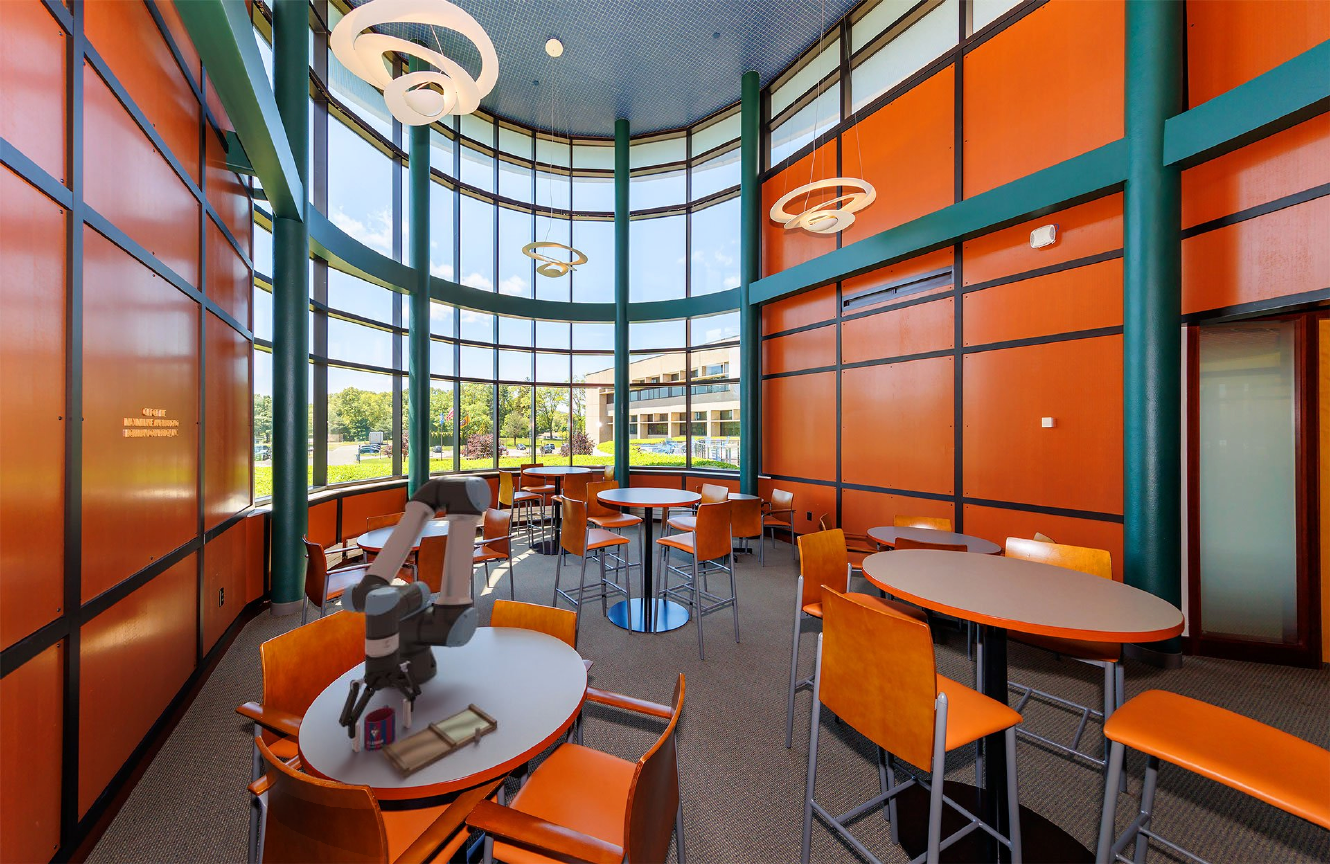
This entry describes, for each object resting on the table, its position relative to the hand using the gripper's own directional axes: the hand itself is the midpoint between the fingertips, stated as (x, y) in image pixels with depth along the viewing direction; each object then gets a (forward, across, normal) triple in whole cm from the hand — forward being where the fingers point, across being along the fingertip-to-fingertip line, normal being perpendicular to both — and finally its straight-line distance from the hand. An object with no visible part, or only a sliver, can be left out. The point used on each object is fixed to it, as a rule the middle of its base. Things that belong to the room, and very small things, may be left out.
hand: (382, 736), depth 119 cm
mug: (0, 0, 0) cm, 0 cm away
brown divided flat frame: (0, +9, -13) cm, 16 cm away
